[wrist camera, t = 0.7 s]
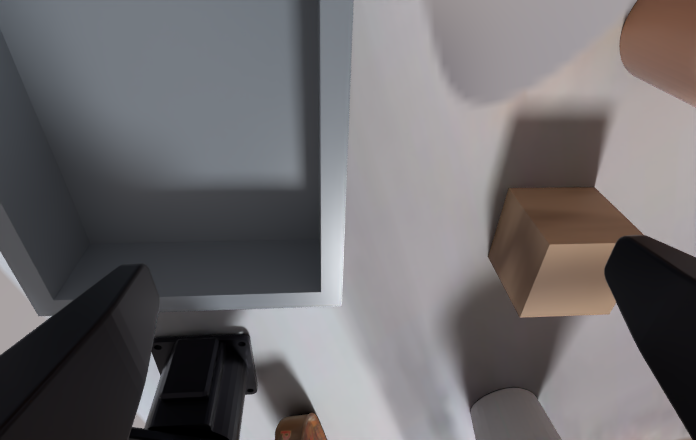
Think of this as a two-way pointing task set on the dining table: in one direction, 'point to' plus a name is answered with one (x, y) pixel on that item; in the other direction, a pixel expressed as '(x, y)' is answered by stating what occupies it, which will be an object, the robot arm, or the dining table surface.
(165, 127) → the tote
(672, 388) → the robot arm
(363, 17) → the dining table surface
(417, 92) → the dining table surface
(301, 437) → the tin
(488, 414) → the coffee cup
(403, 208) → the dining table surface
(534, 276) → the cube
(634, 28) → the cylinder
